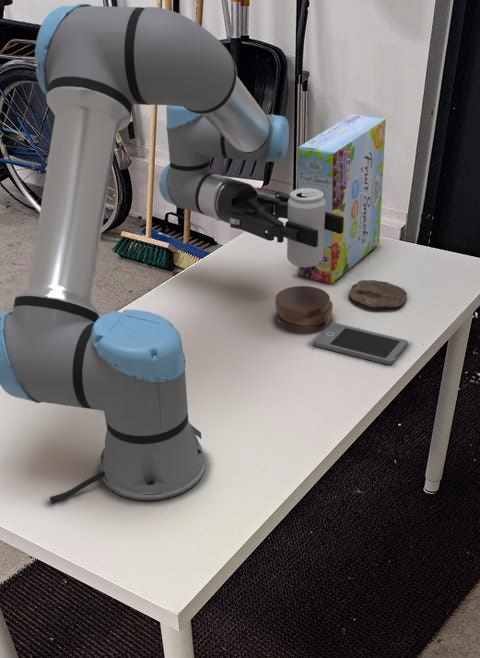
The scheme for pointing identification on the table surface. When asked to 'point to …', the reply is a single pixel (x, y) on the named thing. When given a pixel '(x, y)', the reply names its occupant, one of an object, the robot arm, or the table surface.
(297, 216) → the beverage can
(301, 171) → the snack box
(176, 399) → the robot arm
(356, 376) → the table surface
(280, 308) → the chip pile
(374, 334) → the smartphone
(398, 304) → the rock
